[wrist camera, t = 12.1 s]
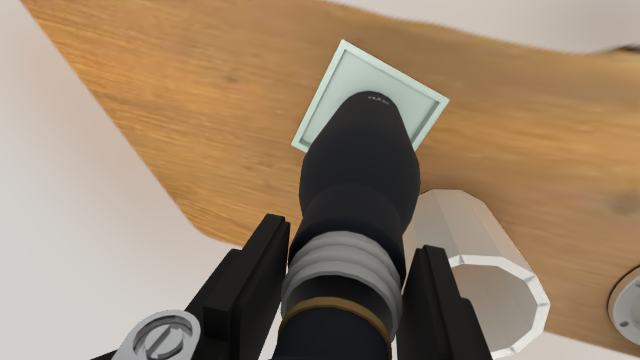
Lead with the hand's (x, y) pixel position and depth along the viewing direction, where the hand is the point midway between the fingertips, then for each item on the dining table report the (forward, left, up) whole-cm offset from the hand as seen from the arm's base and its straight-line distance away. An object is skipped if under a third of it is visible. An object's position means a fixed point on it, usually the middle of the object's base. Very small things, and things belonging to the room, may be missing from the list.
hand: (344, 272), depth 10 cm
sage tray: (0, 0, -25) cm, 25 cm away
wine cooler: (-14, +7, -25) cm, 29 cm away
